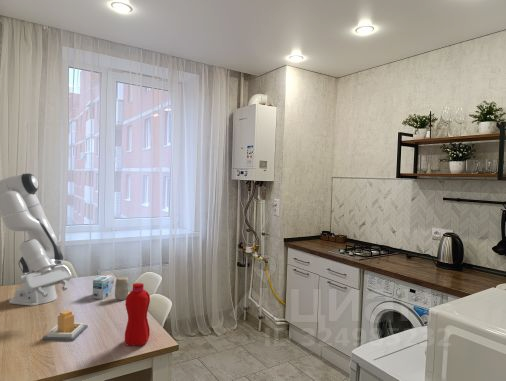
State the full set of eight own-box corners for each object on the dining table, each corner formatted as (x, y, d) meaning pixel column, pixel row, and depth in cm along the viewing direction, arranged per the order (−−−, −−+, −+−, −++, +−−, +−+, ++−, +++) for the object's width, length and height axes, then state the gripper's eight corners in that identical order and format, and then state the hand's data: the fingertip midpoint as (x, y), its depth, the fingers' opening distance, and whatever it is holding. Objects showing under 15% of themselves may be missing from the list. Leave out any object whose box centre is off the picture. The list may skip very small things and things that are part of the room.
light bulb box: (102, 299, 192) (103, 280, 191) (92, 298, 193) (92, 279, 193) (114, 293, 202) (114, 275, 202) (104, 292, 204) (104, 274, 203)
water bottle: (152, 334, 152) (153, 279, 151) (144, 347, 141) (146, 287, 140) (131, 334, 152) (132, 278, 151) (122, 346, 141) (123, 286, 140)
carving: (130, 299, 194) (131, 278, 194) (117, 302, 189) (117, 280, 189) (126, 295, 199) (126, 275, 198) (113, 298, 194) (113, 277, 193)
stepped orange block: (57, 332, 150) (57, 312, 149) (67, 328, 154) (67, 309, 153) (63, 334, 148) (64, 315, 147) (74, 330, 152) (74, 311, 151)
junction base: (42, 340, 144) (42, 334, 144) (59, 326, 157) (59, 321, 157) (73, 340, 144) (73, 335, 144) (87, 327, 157) (87, 321, 157)
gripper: (21, 270, 149) (35, 296, 146) (65, 259, 168) (79, 282, 164) (15, 278, 152) (29, 304, 148) (59, 267, 170) (73, 290, 166)
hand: (55, 292), depth 156 cm, fingers open, 8 cm apart
